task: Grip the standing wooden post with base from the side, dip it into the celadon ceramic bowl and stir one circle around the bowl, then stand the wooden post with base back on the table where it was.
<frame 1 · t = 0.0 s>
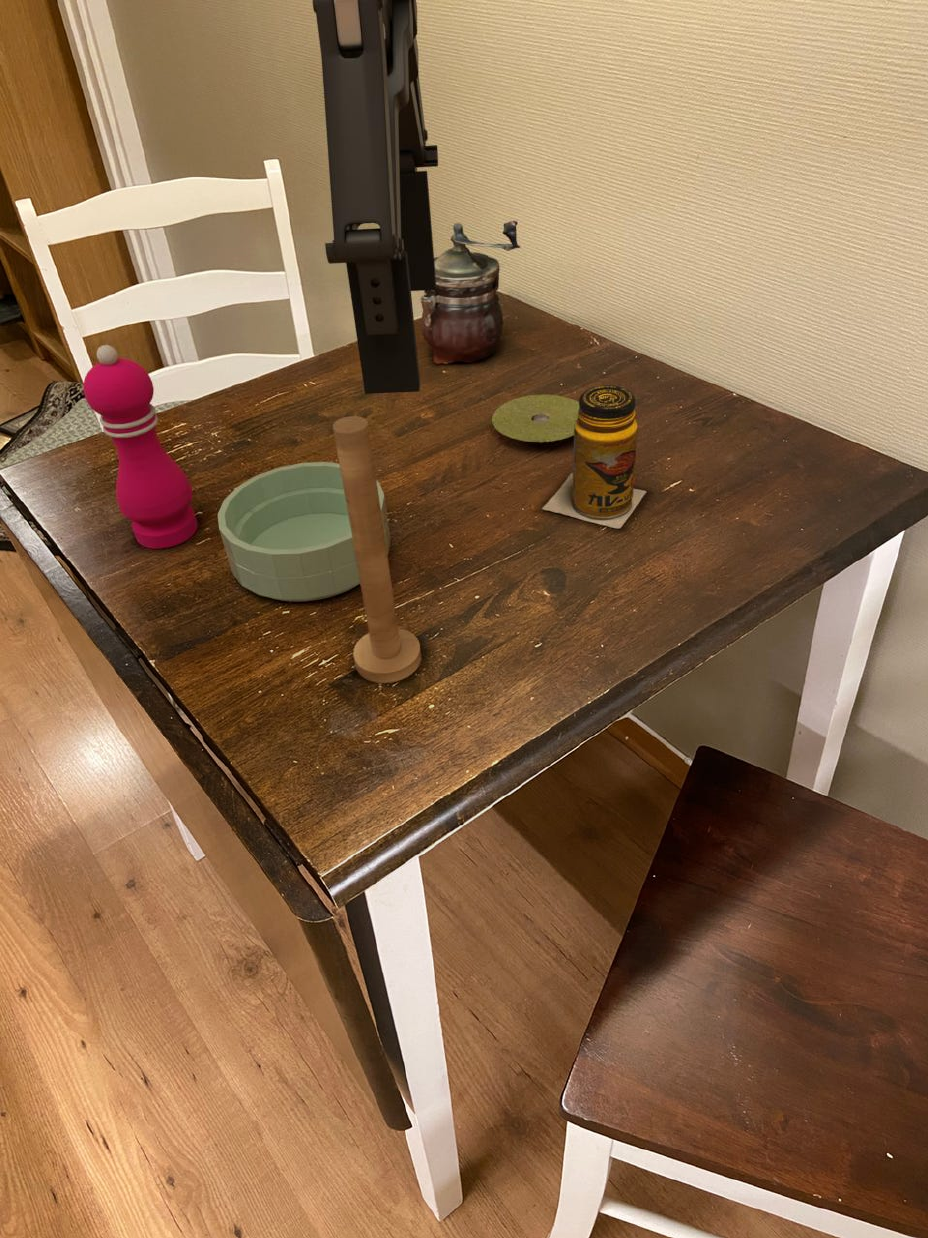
hand: (404, 334, 49), 31 cm above the table, tool pointing down, fingers open, 13 cm apart
condiment: (594, 503, 90), on the table
coffee grinder: (476, 355, 119), on the table
wooden post with base: (388, 659, 74), on the table
olive green flat disc: (541, 433, 102), on the table
pepper mill: (168, 533, 91), on the table
bowl: (312, 556, 86), on the table
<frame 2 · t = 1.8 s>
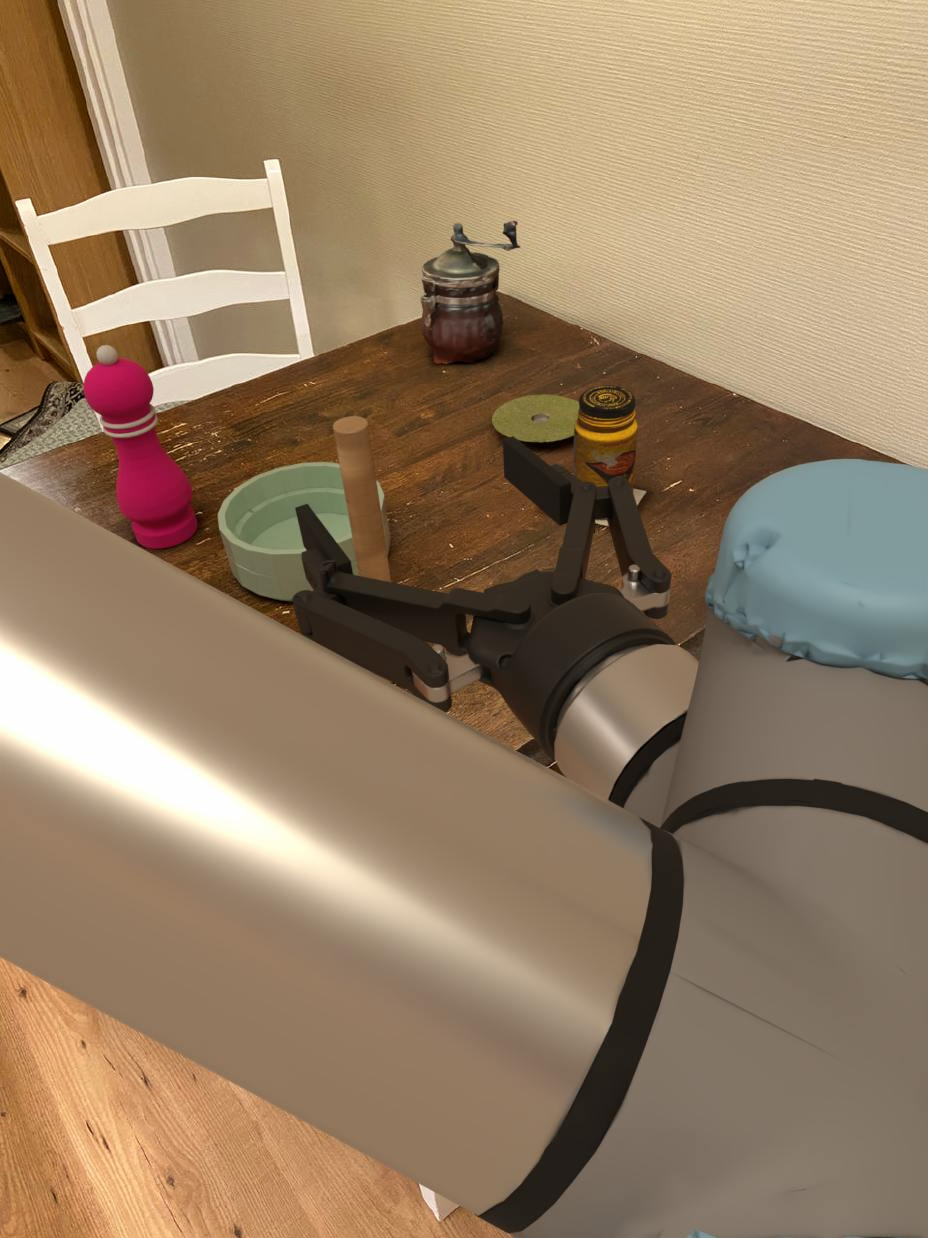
hand: (410, 489, 53), 22 cm above the table, tool horizontal, fingers open, 13 cm apart
nothing on the table moved.
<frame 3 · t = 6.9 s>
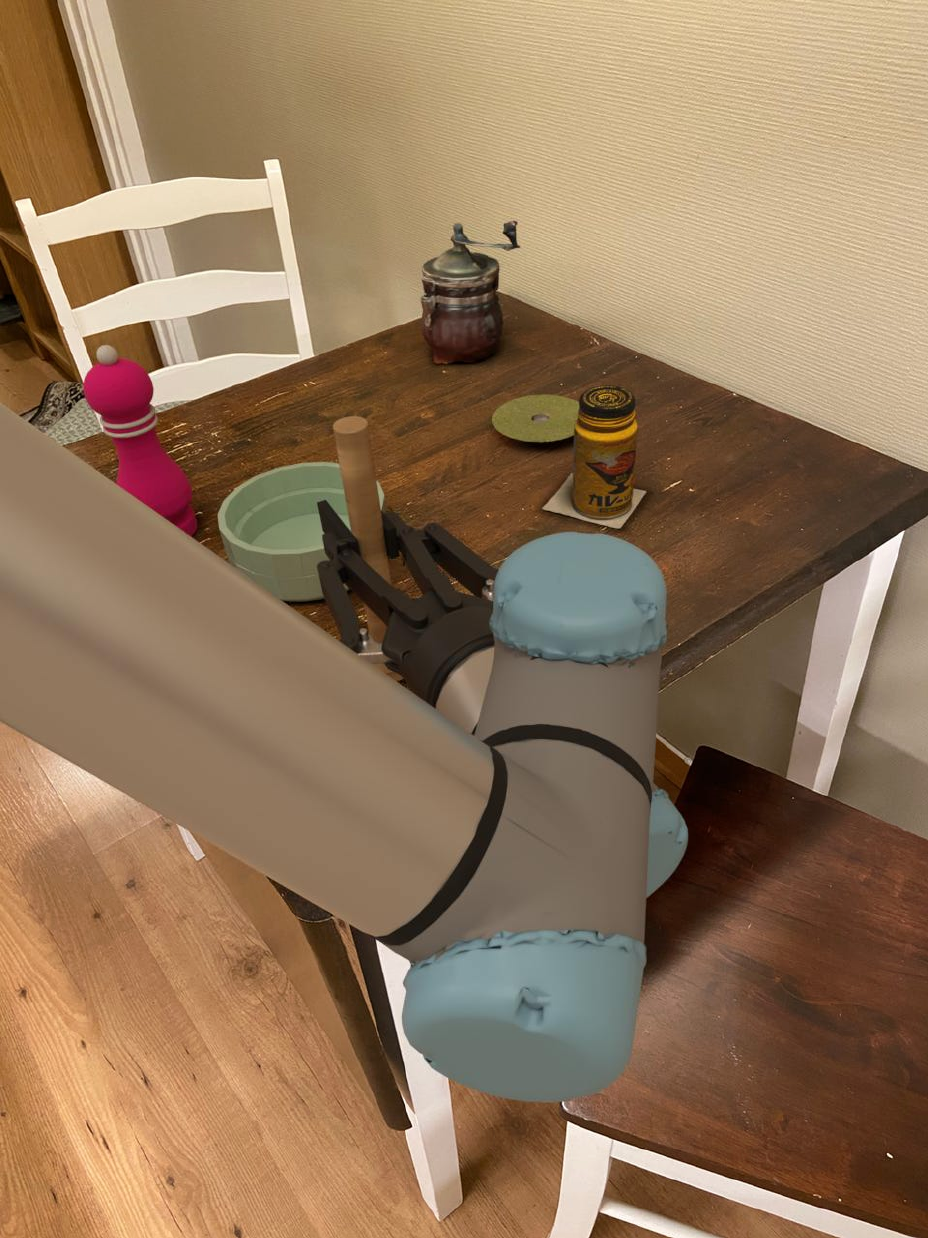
hand: (342, 509, 70), 12 cm above the table, tool horizontal, fingers closed on wooden post with base, 2 cm apart
wooden post with base: (388, 659, 74), on the table, touching gripper
everything else where it was.
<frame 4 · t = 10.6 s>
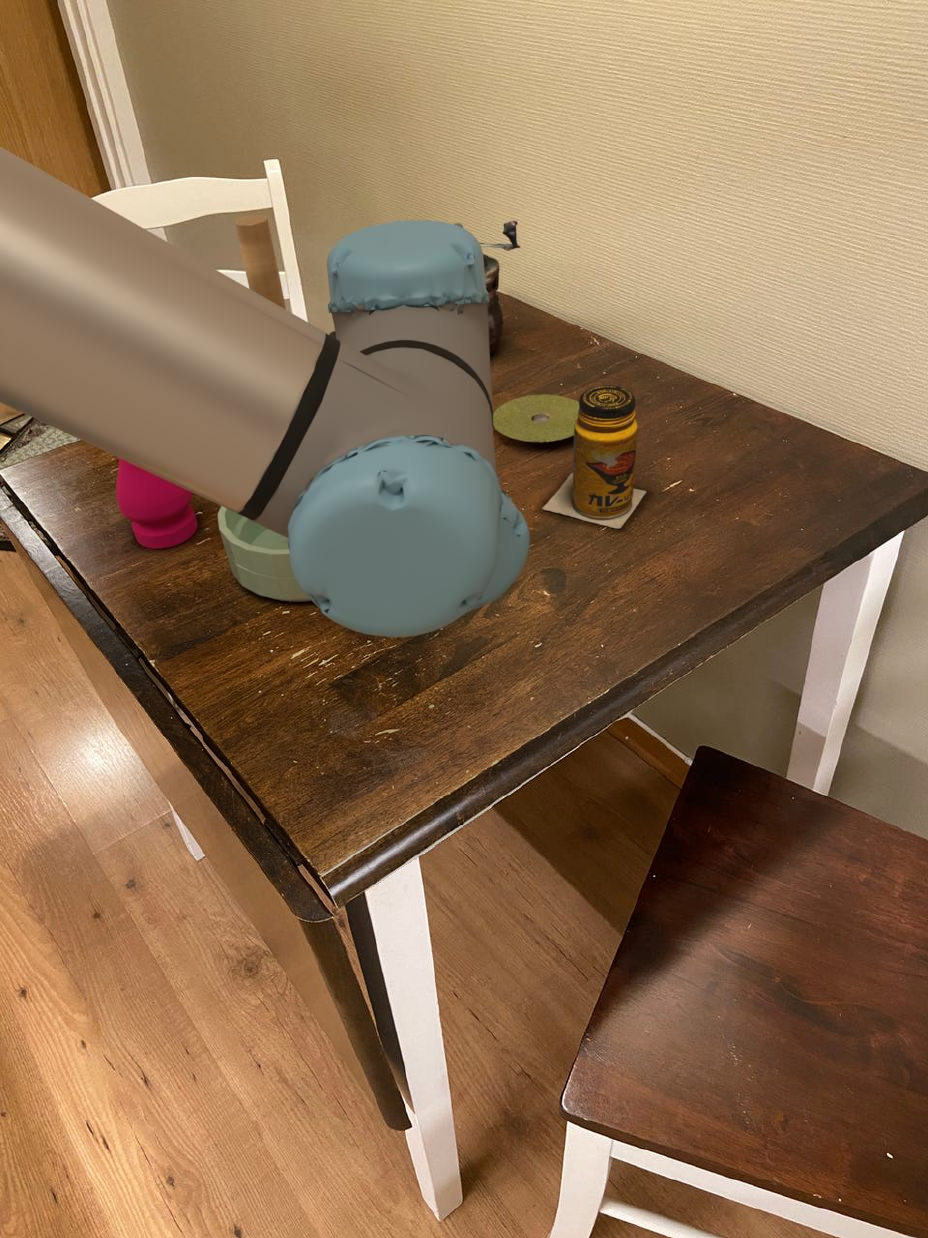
hand: (257, 329, 74), 22 cm above the table, tool horizontal, fingers closed on wooden post with base, 2 cm apart
wooden post with base: (305, 481, 78), point 10 cm above the table, touching gripper
everything else where it was.
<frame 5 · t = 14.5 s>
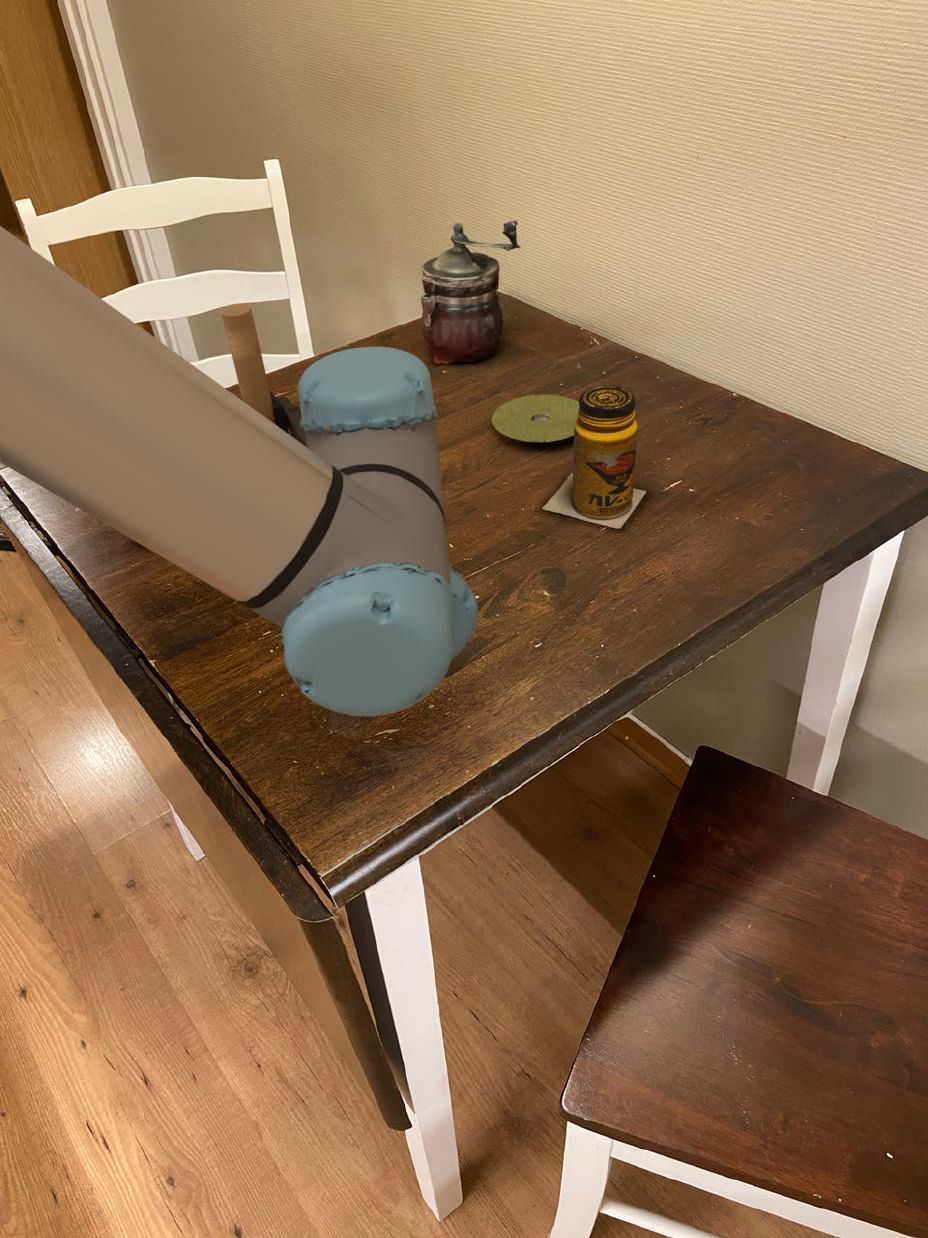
hand: (243, 398, 81), 14 cm above the table, tool horizontal, fingers closed on wooden post with base, 2 cm apart
wooden post with base: (288, 534, 85), point 2 cm above the table, touching gripper
everything else where it was.
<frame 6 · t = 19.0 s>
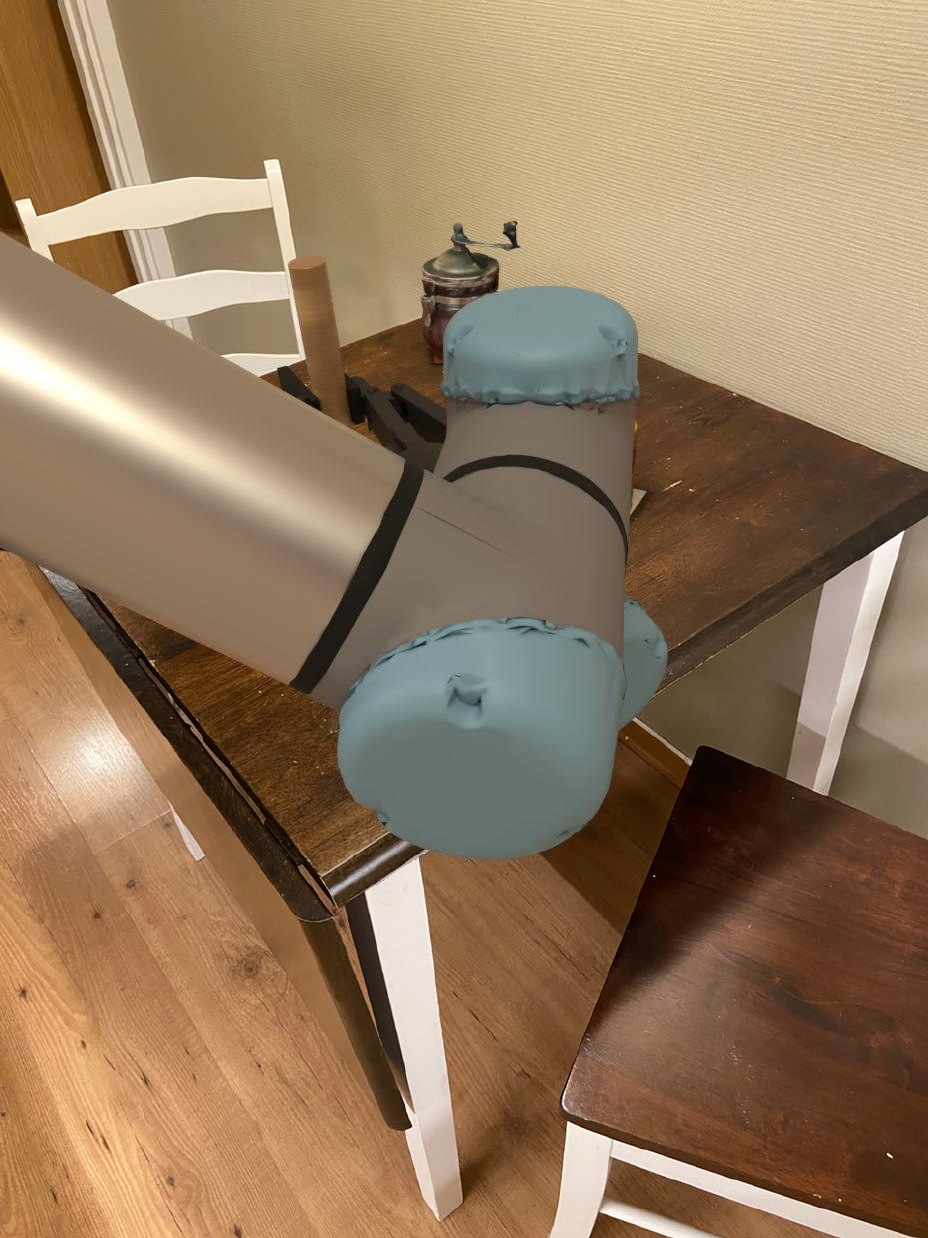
hand: (305, 378, 66), 22 cm above the table, tool horizontal, fingers closed on wooden post with base, 2 cm apart
wooden post with base: (356, 545, 70), point 10 cm above the table, touching gripper
everything else where it was.
when the fingers open (12 cm above the table, at t = 22.2 s): wooden post with base stays where it is, on the table.
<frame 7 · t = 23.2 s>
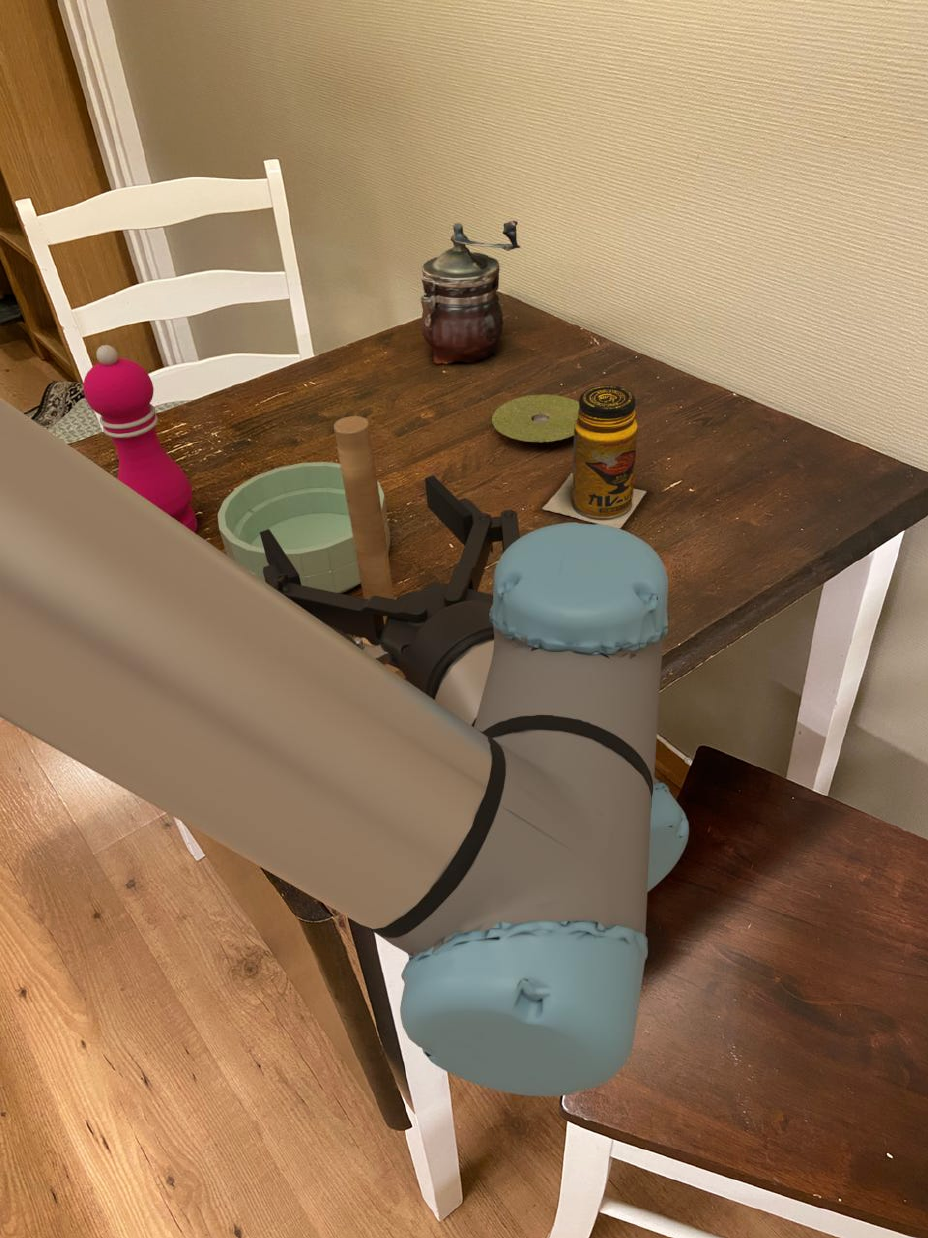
hand: (351, 517, 68), 13 cm above the table, tool horizontal, fingers open, 13 cm apart
wooden post with base: (388, 659, 74), on the table
everything else where it was.
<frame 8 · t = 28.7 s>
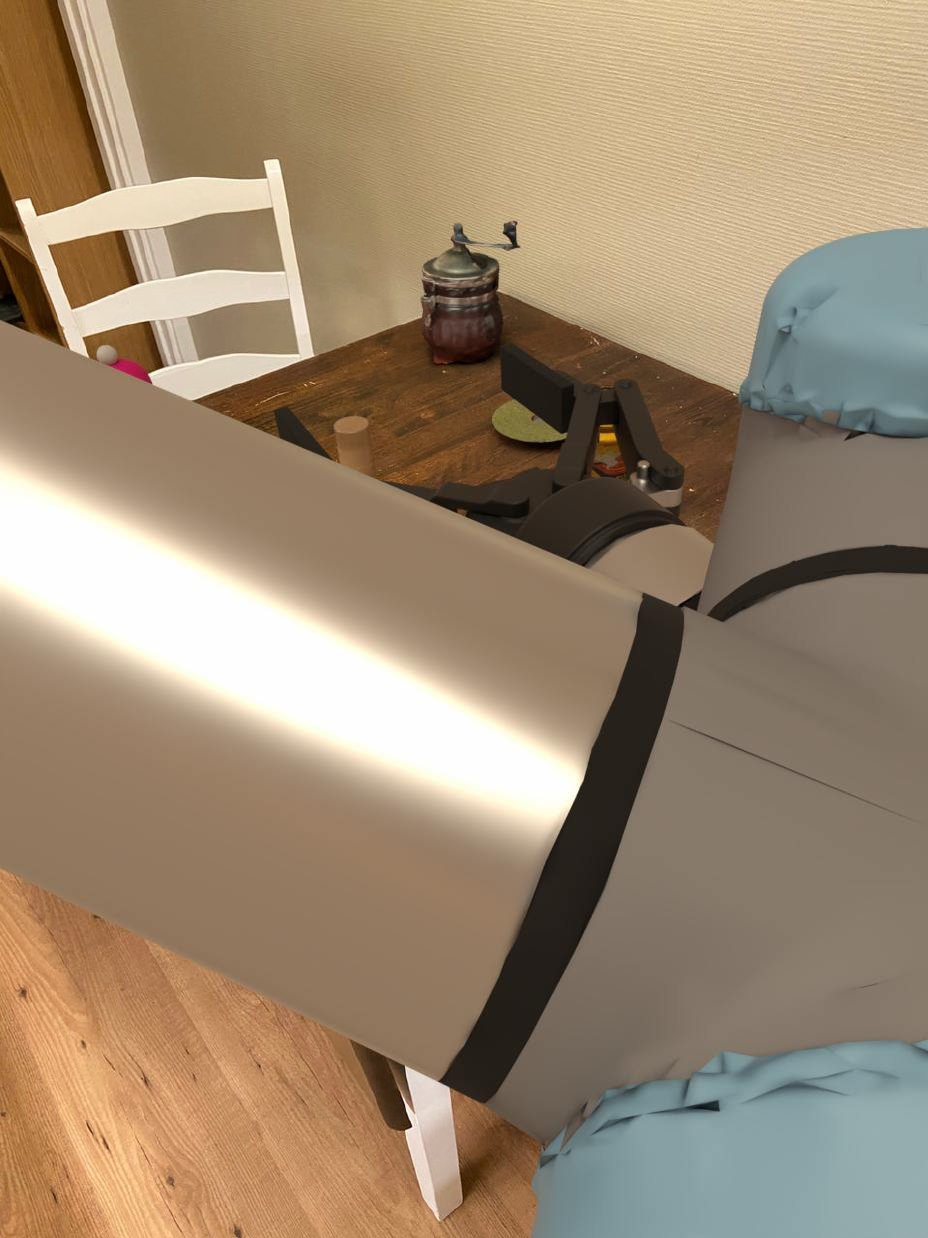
hand: (400, 396, 49), 28 cm above the table, tool horizontal, fingers open, 13 cm apart
nothing on the table moved.
at the end: wooden post with base inside the target area (0.1 cm from its centre), on the table; wooden post with base tilted 0°; the gripper is holding nothing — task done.
